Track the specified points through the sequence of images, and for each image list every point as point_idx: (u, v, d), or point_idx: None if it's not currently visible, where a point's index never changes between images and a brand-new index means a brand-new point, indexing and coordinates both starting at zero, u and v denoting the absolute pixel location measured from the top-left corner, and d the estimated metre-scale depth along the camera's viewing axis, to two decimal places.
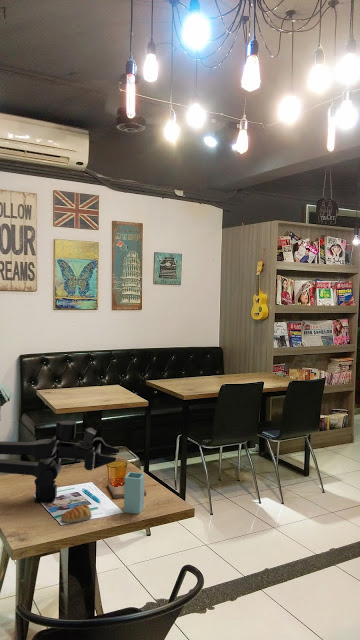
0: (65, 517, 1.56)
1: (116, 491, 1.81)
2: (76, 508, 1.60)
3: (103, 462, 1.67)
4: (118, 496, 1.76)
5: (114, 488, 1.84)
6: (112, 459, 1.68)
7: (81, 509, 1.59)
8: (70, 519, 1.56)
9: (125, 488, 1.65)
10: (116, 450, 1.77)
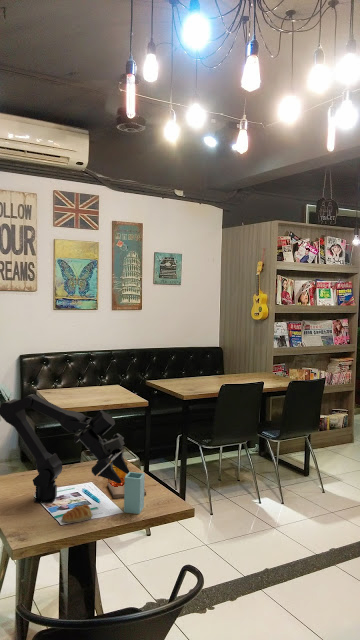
0: (66, 517, 1.56)
1: (116, 491, 1.81)
2: (77, 508, 1.59)
3: (109, 476, 1.62)
4: (118, 496, 1.76)
5: (114, 488, 1.84)
6: (117, 480, 1.63)
7: (82, 509, 1.59)
8: (71, 519, 1.56)
9: (125, 488, 1.65)
10: (126, 470, 1.72)
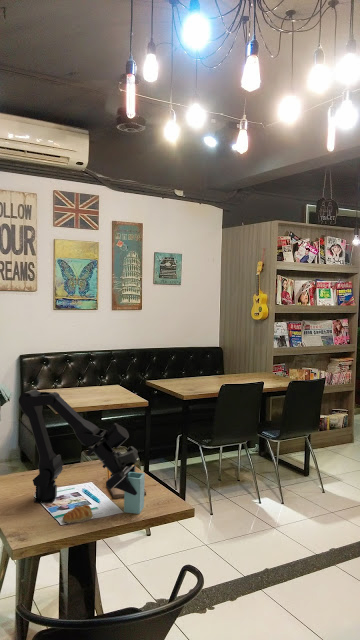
0: (67, 518, 1.56)
1: (116, 491, 1.81)
2: (77, 509, 1.59)
3: (124, 488, 1.63)
4: (118, 496, 1.76)
5: (114, 488, 1.84)
6: (133, 492, 1.64)
7: (82, 509, 1.59)
8: (72, 520, 1.56)
9: None
10: None
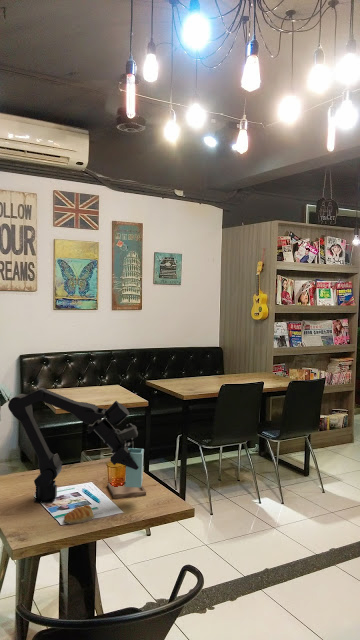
0: (68, 518, 1.55)
1: (116, 491, 1.81)
2: (78, 509, 1.59)
3: (127, 463, 1.68)
4: (118, 496, 1.76)
5: (114, 488, 1.84)
6: (135, 466, 1.69)
7: (83, 510, 1.59)
8: (73, 520, 1.55)
9: None
10: None
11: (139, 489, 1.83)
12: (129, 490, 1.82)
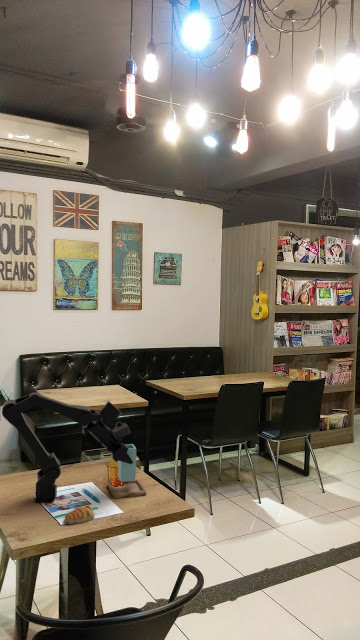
0: (68, 518, 1.55)
1: (116, 491, 1.81)
2: (79, 509, 1.59)
3: (123, 459, 1.78)
4: (118, 496, 1.76)
5: (114, 488, 1.84)
6: (130, 461, 1.80)
7: (84, 510, 1.59)
8: (74, 520, 1.55)
9: None
10: None
11: (139, 489, 1.83)
12: (129, 490, 1.82)
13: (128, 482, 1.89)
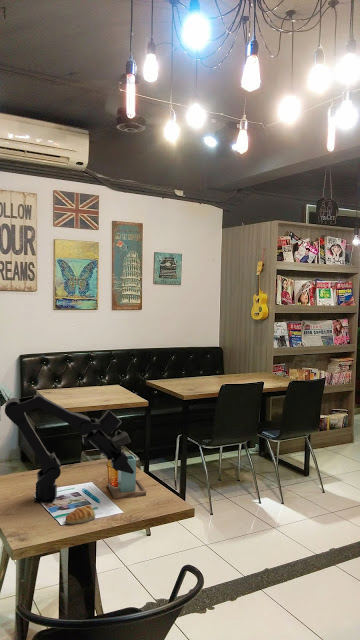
0: (69, 519, 1.55)
1: (116, 491, 1.81)
2: (80, 509, 1.59)
3: (124, 469, 1.77)
4: (118, 496, 1.76)
5: (114, 488, 1.84)
6: (131, 471, 1.79)
7: (85, 510, 1.59)
8: (75, 520, 1.55)
9: None
10: None
11: (139, 489, 1.83)
12: None
13: None
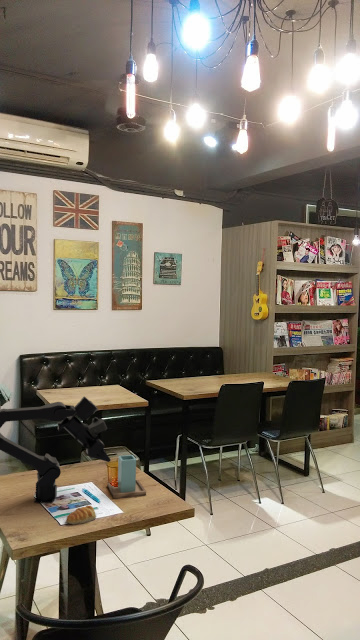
0: (70, 519, 1.55)
1: (116, 491, 1.81)
2: (80, 509, 1.59)
3: (100, 456, 1.73)
4: (118, 496, 1.76)
5: (114, 488, 1.84)
6: (107, 459, 1.75)
7: (86, 510, 1.58)
8: (76, 521, 1.55)
9: (122, 470, 1.79)
10: (103, 451, 1.84)
11: (139, 489, 1.83)
12: None
13: None
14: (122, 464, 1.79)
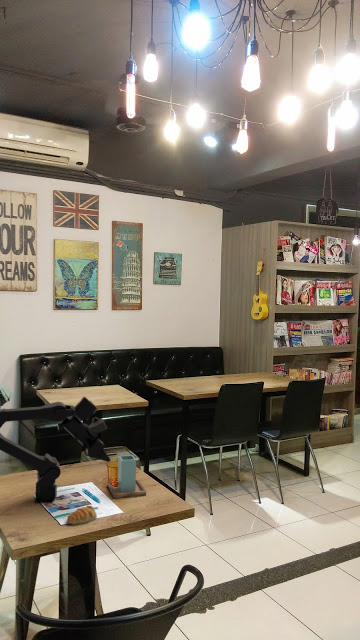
0: (71, 519, 1.55)
1: (116, 491, 1.81)
2: (81, 509, 1.59)
3: (100, 456, 1.73)
4: (118, 496, 1.76)
5: (114, 488, 1.84)
6: (107, 459, 1.75)
7: (86, 510, 1.58)
8: (76, 521, 1.55)
9: (122, 470, 1.79)
10: (103, 451, 1.84)
11: (139, 489, 1.83)
12: None
13: None
14: (122, 464, 1.79)
